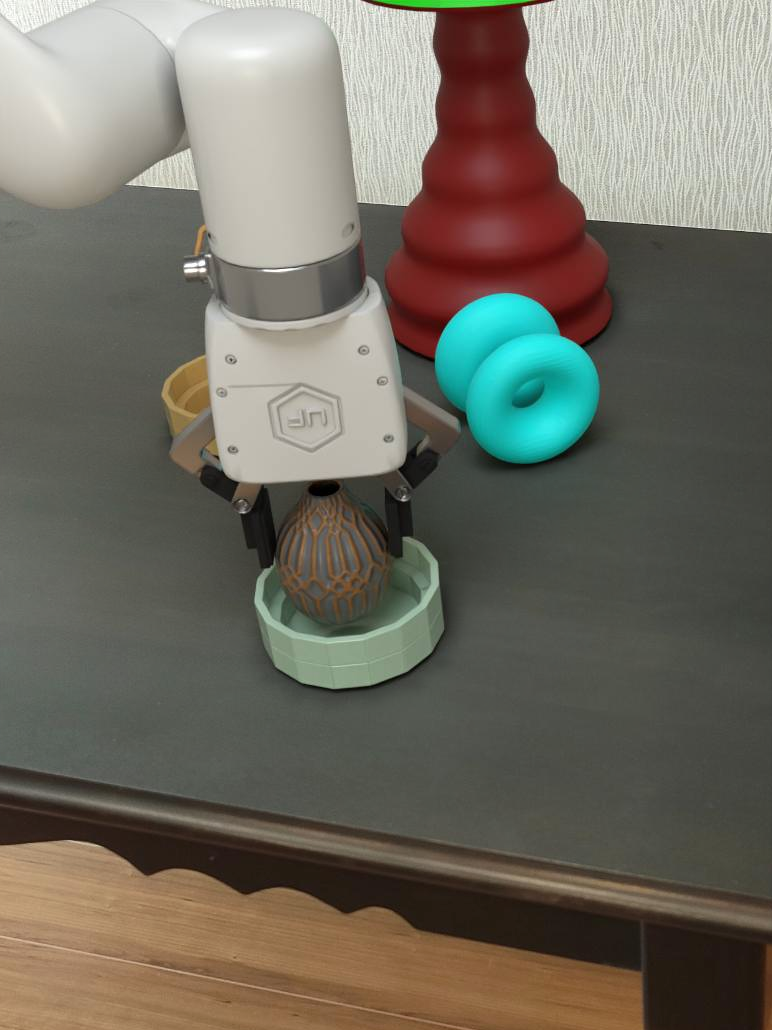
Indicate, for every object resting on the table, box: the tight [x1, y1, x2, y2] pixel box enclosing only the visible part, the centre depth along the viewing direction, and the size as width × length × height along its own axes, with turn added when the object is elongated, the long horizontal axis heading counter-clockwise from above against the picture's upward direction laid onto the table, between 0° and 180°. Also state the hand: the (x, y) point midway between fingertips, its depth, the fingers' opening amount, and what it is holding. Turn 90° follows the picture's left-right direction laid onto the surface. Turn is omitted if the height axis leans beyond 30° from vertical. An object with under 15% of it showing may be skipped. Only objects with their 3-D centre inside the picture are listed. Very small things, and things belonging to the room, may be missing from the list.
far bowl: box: [160, 354, 235, 456], centre depth 99 cm, size 11×11×4 cm
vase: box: [275, 479, 393, 625], centre depth 76 cm, size 7×7×9 cm
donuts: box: [434, 293, 600, 465], centre depth 94 cm, size 10×10×10 cm
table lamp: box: [360, 0, 613, 361], centre depth 100 cm, size 20×20×45 cm
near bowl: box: [253, 530, 445, 690], centre depth 78 cm, size 11×11×4 cm
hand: (333, 547), depth 76 cm, fingers closed on vase, 6 cm apart
